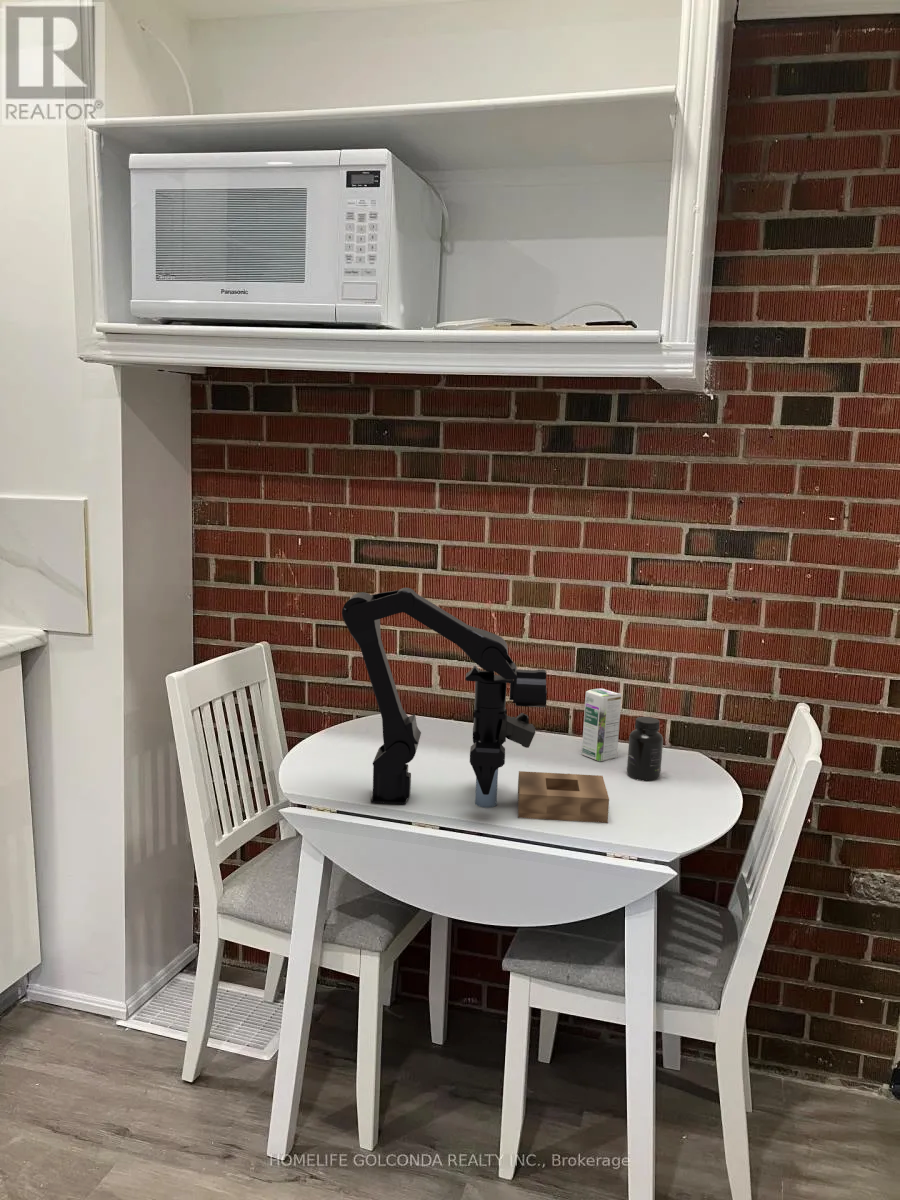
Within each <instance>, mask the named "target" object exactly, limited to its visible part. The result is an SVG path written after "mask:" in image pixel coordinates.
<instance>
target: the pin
mask: <svg viewBox="0 0 900 1200" xmlns="http://www.w3.org/2000/svg"><path fill="white" fill-rule="evenodd" d="M498 775H499V768H498V769H497V770H496V771H495V774H494V777H493V781H492V785H491V788H490V792H489V794H488V795H484V794H483V793H482V790H481V788H480V785H479V783H478V780H477V778H476V777H475V800H474V804H475V805H476V806H477V807H479V808H485V809H487V808H488V809H489V808H490V809H491V808H493V807H496V806H497V803H498V778H499V777H498Z"/></svg>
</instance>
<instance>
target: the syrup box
mask: <svg viewBox="0 0 900 1200" xmlns="http://www.w3.org/2000/svg"><path fill="white" fill-rule="evenodd" d="M622 695H623V694H622V693H619V692H615V691H612V690H608V689H605V688H593V689H589V690H586V691H585V696H584V697H585V698H584V714H583V715H584V716H583V727H582V728H583V730H582V742H581V755H582V756H585V757H588V758H590V759H592V760H595V761H597V762H600V763H601V762H603V761H608V760H612V759H614V758H618V749H619V748H618V746H619V735H620V734H619V732H620V722H621V721H620V720H621V719H620V718H621V709H622V707H621V706H622Z"/></svg>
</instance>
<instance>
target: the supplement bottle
mask: <svg viewBox="0 0 900 1200" xmlns="http://www.w3.org/2000/svg"><path fill="white" fill-rule="evenodd" d="M660 728H661V727H660V720H659V719H657V718H655V717H653V716H652V717H651V716H638V717H636V718H635V724H634V730H632V731H631V732H630V734H629V737H628V751H627V762H626V763H627V764H626V774H627V775H628V776H629V777H630V778H631V779H635V780H637V779H638V781H642V780H644V781H643V782H652V781H657V780H658V779H659V778H660V777H661V771H662V761H663V760H662V759H663V758H662V757H663V745H664V738H663V734H661V733H660V732H659V731H660Z"/></svg>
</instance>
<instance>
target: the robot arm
mask: <svg viewBox="0 0 900 1200" xmlns="http://www.w3.org/2000/svg"><path fill="white" fill-rule="evenodd" d="M341 609H342V610H341V617H342V620H343V622H344V623H345V626H346V628H347V630H348V631H349V634H350V635H351V636H352V638H353V639H354V641H355V643H357V645H358V647H359V648H360V651H361V655H362V658H363V661H364V665H365V668H366V670H367V674H368V677H369V680H370V683H371V687H372V691H373V694H374V696H375V701H376V704H377V705H378V711H379V712H380V715H381V720H382V722H381V723H382V740H383V744H382V745H380V747H379V748H378V749H377V752H376V755H375V756H374V759H373V761H372V766H373V768H372V795H371V798H370V802H371V803H373V804H389V805H392V804H393V805H406V803H407V801H408V799H409V798H410V796H411V789H412V784H411V783H412V772H410V771H409V763H410V762H411V761H412V760H413V759H414V758H415V757H416V752H417V751H418V746H419V744H420V743H419V742H420V739H421V736H422V731H421V730H420V729H419V727H418V724H417V717H416V714H415V713H414V714H411V715H410V716H409V715H408V714H407V713H406V711H405V710H404V708H403V706H402V703H401V699H400V696H399V693H398V688H397V686H396V684H395V679H394V677H393V676H394V675H393V674H392V670H391V667H390V663H389V660H388V658H387V654H386V650H385V648H384V645H383V641H382V634H381V629H382V628H381V620H382V619H385V618H387V617H391V616H393V615H398V614H402V613H404V614H406V615H408V616H409V617H411V618H412V619H414V620H416V621H417V622H419V623H421V624H422V625H424V626H425V627H427V628H428V629H430V630H432V631H434V632H435V633H437V634H438V635H440V636H442V637H443V638H445V639H447V640H448V641H450V642H452V643H454V644H455V645H457V646H458V647H459V649H461V650H462V651H463V653H465V654H466V656H467V657H469V659H471V661H473V662H474V663H475V664H476V665H474V666H473V667H472V668H471V669H470V670H469V671H468V672H466V674H465V679H464V680H465V681H466V682H475V684H474V685H475V687H474V704H473V705H474V707H473V708H474V709H473V726H472V743H473V744H472V745H471V746H470V748H469V749H470V751H469V763H470V765H471V767H472V770H473V773H474V775H475V779H476V778H477V780H478V783H479V785H480V788H481V790H482V793H483V794H484V795H488V794H489V792H490V788H491V785H492V781H493V777H494V774H495V771H496V770H497V769H498V770H499V769H500V768H503V766H504V765H505V762H506V747H504V746H503V745H504V743H506V740H507V739H508V740H509V741H512V742H514V743H516V744H519V745H520V746H522V747H523V748H530V746H531V743H532V742H533V740H534V737H535V735H536V727H535V726H534V724H533V723H530V719H529V715H528V714H526V713H524V712H520V713H519V714H518V715H517V716H516V717H515V716H510V715H508V713H507V712H508V710H507V708H506V704H507V703H506V702H507V701H506V700H507V684H509V701H512V703H513V704H515V706H516V707H524V708H525V707H526V708H527V707H529V708H546V707H547V703H548V702H547V699H548V698H547V697H548V690H547V689H548V688H547V670H546V669H533V670H532V669H530V670H529V669H528V670H527V669H518V666H517V665H516V662H514V661H513V659H512V658H511V656H510V655H509V647H508V643H507V641H506V640H505V639H504V638H503V637H502V636H500V635H498V634H496V633H493V632H490V631H488V630H486V629H481V628H479V627H474V626H472V625H470V624H467V623H466V622H464V621H462V620H461V619H459V618H457V617H455V616H454V615H452V614H451V613H449V612H447V610H444V609H443V608H441V607H440V606H438V605H436V604H434V603H433V602H431V601H430V600H428V599H426V598H425V597H424V596H421V595H420V594H418V593H417V592H416V590H414V589H413V588H410V587H403V588H400V589H397V590H390V591H385V592H384V591H383V592H378V593H375V594H370V593H368V592H364V591H362V592H357V593H355V594H353V595H352V596H351V597H350V598H349V599H348V600H347V601H346V602H345V603H344V605H343V607H342V608H341ZM477 666H479V667H480V668H481V669H482V670H480V669H479V668H478V667H477ZM495 673H496V674H495Z"/></svg>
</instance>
